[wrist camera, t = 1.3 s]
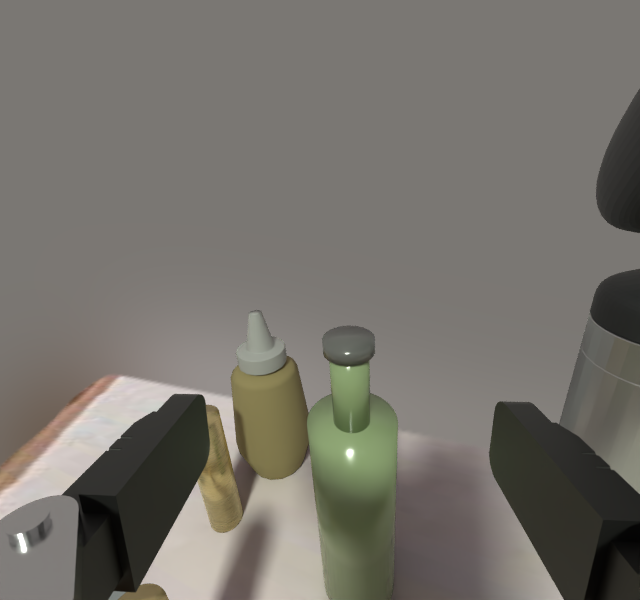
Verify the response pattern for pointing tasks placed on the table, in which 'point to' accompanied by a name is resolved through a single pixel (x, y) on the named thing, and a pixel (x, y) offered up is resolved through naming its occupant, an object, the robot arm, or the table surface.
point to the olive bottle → (354, 472)
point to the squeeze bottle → (268, 404)
